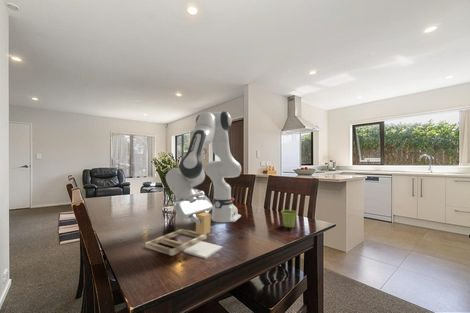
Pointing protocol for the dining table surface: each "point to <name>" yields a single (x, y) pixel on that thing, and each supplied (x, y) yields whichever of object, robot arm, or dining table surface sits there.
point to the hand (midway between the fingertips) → (204, 222)
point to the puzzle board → (174, 242)
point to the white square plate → (203, 249)
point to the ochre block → (203, 223)
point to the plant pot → (289, 218)
